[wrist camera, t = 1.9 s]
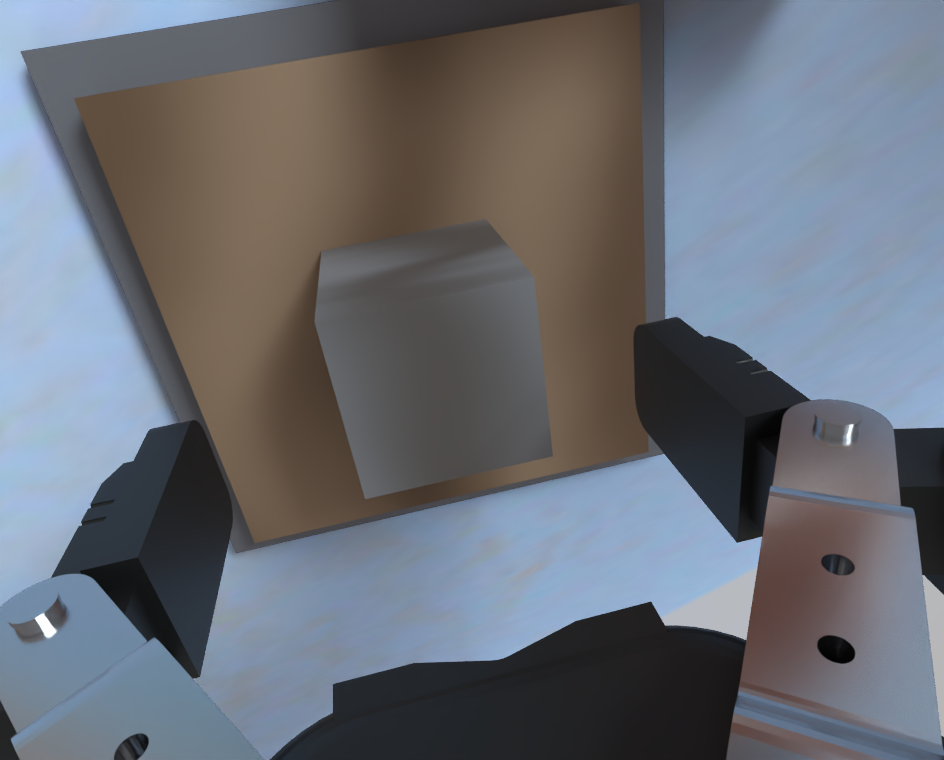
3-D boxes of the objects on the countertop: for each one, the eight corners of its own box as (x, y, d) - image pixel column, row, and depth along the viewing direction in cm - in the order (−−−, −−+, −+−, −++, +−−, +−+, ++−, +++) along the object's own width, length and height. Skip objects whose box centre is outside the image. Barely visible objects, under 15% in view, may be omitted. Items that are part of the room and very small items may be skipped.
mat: (652, -50, 15) (663, -53, 15) (657, 443, 22) (665, 453, 21) (32, 51, 14) (20, 51, 13) (238, 540, 21) (236, 553, 20)
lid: (622, 5, 15) (754, -13, 10) (635, 434, 21) (724, 553, 16) (90, 95, 14) (-41, 121, 9) (258, 521, 20) (231, 675, 15)
